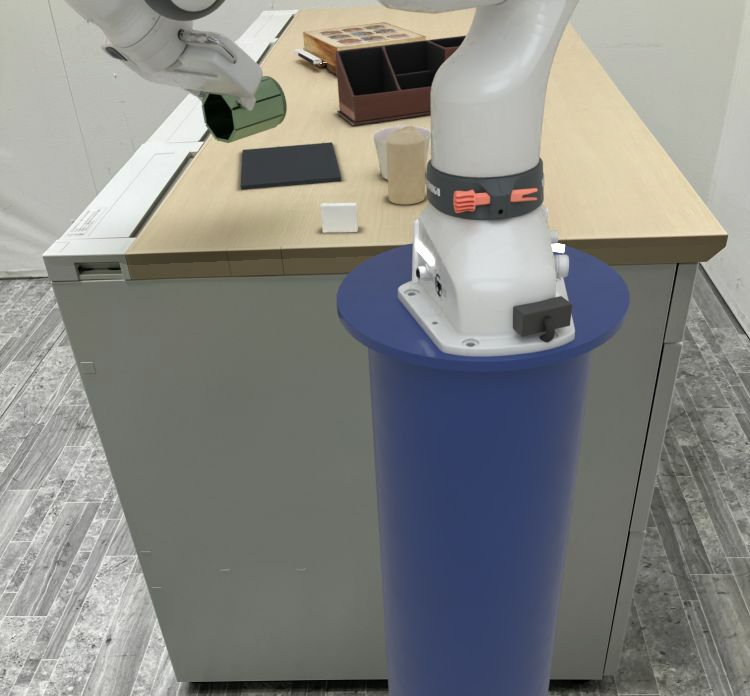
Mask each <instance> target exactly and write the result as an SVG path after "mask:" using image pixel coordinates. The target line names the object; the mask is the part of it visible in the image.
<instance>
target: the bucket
mask: <svg viewBox="0 0 750 696" xmlns="http://www.w3.org/2000/svg"><path fill="white" fill-rule="evenodd" d="M254 97H255V99H256V103H255V105H254V107H253V109H252V110H251V111H249V110H244V109H241V108H240V107H239V106H238V105H237V104H236V103H235V101H236V97H233V96H229V95H223V94H217V93H210V92H207V93H206V95H205V97H204V99H203V101H201V110H202V115H203V122H204V123H203V124H205V127H206V128H207V130H208V132H209V133H210V134H211V135H212V137H213V138H214V140H216V141H217V142H221V143H225V144H226V143H227V144H230V143H233V142H237V141H239V140H243V139H245V138H249V137H250V136H255V135H257V134H259V133H260V134H261V133H263V132H265V131H268V130H272V129H275V128H276V127H278V125H280V124H282V123H283V122H284V120H285V119H286V115H287V111H288V110H287V109H288V108H287V107H288V106H287V98H286V95H285V92H284V90H283V88H282V86H281V85H280V83H279V82H278V81H277V80H276V79H275V78H274V77H271V76H268V75H263V76H262V79H261V82H260V84H259V87H258V89H257V91H256V93H255V95H254Z"/></svg>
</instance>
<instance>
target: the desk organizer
mask: <svg viewBox="0 0 750 696" xmlns="http://www.w3.org/2000/svg"><path fill="white" fill-rule="evenodd" d="M466 35H467V34H466ZM466 35H459V36H449V37H440V38H432V39H426V40H424V41H415V42H407V43H399V44H390V45H382V46H373V47H365V48H356V49H348V50H340V51H336V66H337V75H336V78H337V93H338V107H339V109H338V110H337V111H336V113H337V114H338V115H339V116H340V117H342V118H343V119H344V120H346V121H347V122H348V123H349V124H351V125H352V127H355V126H362V125H368V124H374V123H383V122H389V121H395V120H396V121H397V120H402V119H407V118H416V117H422V116H431V87H432V82H433V79H434V77H435V74H436V72H437V71H438V69H439V68H440V66H441V65H442V64H443V63H444V62H445V61H446V60H447V59H448V58H449V57H450V56H451V55H452V54H453V53H454V52H455V51H456V50H457V49H458V48H459V47H460V45H461V44H462V42H463V41H464V39H465V37H466Z"/></svg>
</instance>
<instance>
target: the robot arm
mask: <svg viewBox="0 0 750 696" xmlns="http://www.w3.org/2000/svg"><path fill="white" fill-rule="evenodd" d="M63 1H64V2H65V3H66V4H67V5H68V6H70V8H71V9H72V10H73V11H75V12H76V13H77V14H78V15H79V16H80V17H81V18H83V19H84V20H86V21H88V22H89V23H92V24H93V25H95V26H96V27H98V28H99V29H100V30H101V31H102V32H103V33H104V35H103V36H104V37H103V39H102V42H101V44H100V49H101V50H102V51H103V52H104V53H105V54H106V55H108V57H110V58H113V59H115V60H119V61H120V62H121V63H123V64H124V66H126V67H127V68H129V69H130V70H131V71H132V72H134V73H135V74H136V75H138V76H140V77H141V78H142V79H144V80H145V81H148V82H149V83H152V84H154V85H159V86H166V87H172V88H180V89H182V90H183V91H185V92H187V93H189V95H192V96H194V97H196V98H197V99H198V100H199V101H200V102H202V101H203V99H204V97H205V95H206V93H207V92H210V93H217V94H223V95H229V96H233V97H236V101H235V103H236V104H237V105H238V106H239V107H240V108H241V109H244V110H249V111H251V110H252V109H253V107H254V105H255V103H256V99H255V97H254V95H255V93H256V91H257V89H258V87H259V84H260V82H261V79H262V76H264V75H263V69H262V67H261V66H260V65H259V64H258V63H257V62H256V60H254V59H253V58H252V57H251V56H250V55H249V54H248V53H247V52H246V51H244V50H243V48H241V47H240V46H239V45H238V44H237V43H236V42H234V40H232V39H231V38H229V37H227V36H226V35H224V34H222V33H220V32H216V31H208V30H197V29H193V27H194V21H196V20H199V19H202V18H205V17H207V16H209V15H211V14H212V13H214V12H215V11H216V10H218V9H219V8H220V7H221V6H222V5H223V4H224V3H225V1H226V0H63ZM377 2H378V3H379V4H380V5H381V6H383V7H385V8H387V9H389V10H396V11H403V12H411V13H418V14H419V13H420V14H421V13H422V14H430V15H431V14H432V15H439V14H444V13H451V12H456V11H462V10H469V9H475V12H474V15H473V18H472V21H471V25H470V27H469V29H468V32H467V33H466V37H465V39H464V41H463V42H462V44H461V45H460V47H459V48H458V49H457V50H456V51H455V52H454V53H453V54H452V55H451V56H450V57H449V58H448V59H447V60H446V61H445V62H444V63H443V64H442V65H441V66H440V68H439V69H438V71H437V72H436V74H435V77H434V79H433V82H432V87H431V115H430V132H431V137H430V159H429V160H427V162H426V172H425V187H426V199H427V200H428V202H427V204H426V206H425V208H424V209H423V211H422V212H421V213H420V214H419V215H418V216H417V217H416V219H415V220H414V221H413V225H412V243H413V259H412V281H410V282H407V283H405V284H403V285H401V286H400V287H399V288H398V296H397V297H398V299H399V300H400V302H401V303H402V304H403V305H404V306H405V308H406V309H407V310H408V311H409V313H410V314H411V315H412V316H413V318H414V319H415V320H416V321H417V323H418V324H419V325H420V326H421V328H422V329H423V330H424V331H425V333H426V334H427V335H428V336H429V338H430V339H431V340H432V341H433V343H434V344H435V345H436V346H437V347H438V349H439V350H440V351H442V352H443V353H447V354H452V355H459V356H471V357H492V356H507V355H518V354H526V353H533V352H539V351H544V350H549V349H553V348H556V347H559V346H562V345H565V344H567V343H569V342H571V341H573V340H574V339H575V327H574V323H573V318H572V314H571V312H572V304H571V303H570V302H569V301H568V296H567V292H566V288H565V283H564V279H563V278H565V277H567V276H568V271H569V257H568V255H555V256H554V255H553V251H555V252H561V253H563V252H564V248H565V246H566V244H562V243H558V242H559V231H558V230H550V229H551V228H550V223H549V212H550V209H549V208H548V207H547V206H546V205H544V204H543V203H544V200H545V191H544V190H545V189H544V187H545V173H544V161H543V159H542V157H540V155H541V144H542V134H543V123H544V116H545V115H544V114H545V105H546V97H547V88H548V82H549V78H550V73H551V70H552V65H553V62H554V59H555V56H556V53H557V50H558V47H559V45H560V43H561V39H562V38H563V35H564V32H565V30H566V27H567V25H568V23H569V21H570V19H571V17H572V15H573V13H574V11H575V9H576V7H577V5H578V4H579V2H580V0H377Z"/></svg>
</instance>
